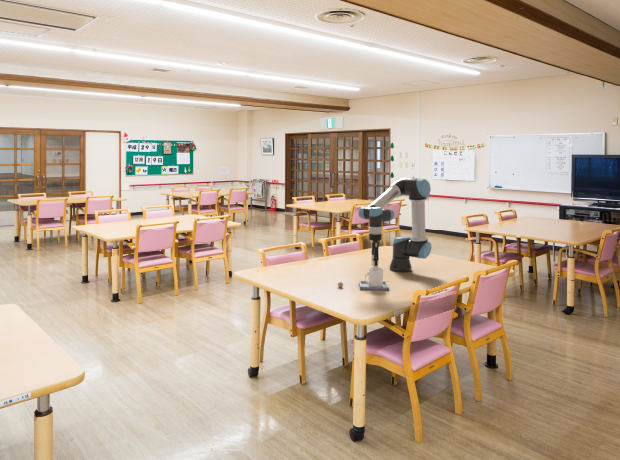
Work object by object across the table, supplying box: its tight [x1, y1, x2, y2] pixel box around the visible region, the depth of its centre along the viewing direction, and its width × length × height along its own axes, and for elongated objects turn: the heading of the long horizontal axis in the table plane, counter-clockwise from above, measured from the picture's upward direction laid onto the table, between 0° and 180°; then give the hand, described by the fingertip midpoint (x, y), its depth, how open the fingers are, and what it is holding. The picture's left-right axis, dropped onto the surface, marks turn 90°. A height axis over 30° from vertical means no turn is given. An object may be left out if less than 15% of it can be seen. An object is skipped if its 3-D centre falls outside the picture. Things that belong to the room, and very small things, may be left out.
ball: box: [337, 281, 344, 288], centre depth 292 cm, size 3×3×3 cm
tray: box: [358, 280, 390, 291], centre depth 294 cm, size 17×14×2 cm
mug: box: [364, 266, 384, 287], centre depth 293 cm, size 9×12×11 cm
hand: (374, 268), depth 293 cm, fingers open, 13 cm apart
